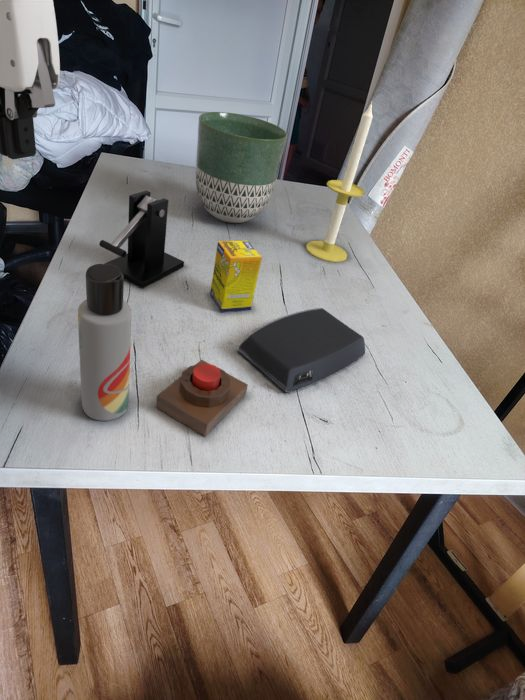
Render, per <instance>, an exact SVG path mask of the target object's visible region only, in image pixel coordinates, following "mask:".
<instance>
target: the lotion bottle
mask: <svg viewBox="0 0 525 700" xmlns="http://www.w3.org/2000/svg"><path fill="white" fill-rule="evenodd" d="M124 283H125V279H124V275H123V273H122V272H121V271H120V269H119V268H118V267H117V266H115V265H112V264H105V263H95V264H92V265H91V266H89V267H88V268H87V269H86V272H85V293H86V298H85V299H84V300H83V301H82V302H81V303H80V304H79V306H78V308H77V325H78V326H77V329H78V331H77V332H78V350H79V351H78V352H79V371H80V394H81V395H80V396H81V406H82V407H81V408H82V410H83V412H84V413H85V414H86V416H88V417H89V418H90V419H93V420H96V421H102V422H108V421H112V420H116V419H118V418H120V417H121V416H122V415H124V414H125V412H126V411H127V409H128V408H129V407H128V406H129V400H130V399H129V397H130V372H131V347H132V346H131V345H132V313H133V312H132V307H131V306H130V304H129V303H128V302H126V301H125V300H124V288H125V287H124V286H125V285H124Z"/></svg>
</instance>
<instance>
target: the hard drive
mask: <svg viewBox="0 0 525 700" xmlns="http://www.w3.org/2000/svg"><path fill="white" fill-rule="evenodd" d="M236 350H237V351H238V352H239V353H240V354H241V355H243V356H244V357H245V358H246V359H247V360H249V361H250V363H252V364H253V366H255V367H256V368H257V369H258V370H259V371H261V372H262V373H263V374H264V375H265V376H266V377H267V378H269V379H270V380H271V381H272V382H273V383H275V385H277V387H279V388H280V389H282V390H283V392H285V393H291V392H293V391H296V390H299V389H302V388H304V387H307V386H309V385H312V384H314V383H318V382H319V381H322V380H323V379H326V378H327V377H329V376H332V375H333V374H336V373H337V372H340V371H341V370H343V369H345V368H346V367H348V366H349V365H351V364H353V363H354V362H356V361H357V360H359V359H361V357H363V356H364V355H365V354H366V344H365V337H364V336H363V335H361V334H360V333H358V332H357V331H355V330H354V329H353V328H351V327H349V326H348V325H347V324H345V323H344V322H342V321H341V320H340V319H338V318H337V317H335V316H334V315H333V314H331V313H329V311H328V310H326V309H324V308H323V307H316V308H315V307H314V308H311V309H305V310H301V311H296V312H294V313H293V312H292V313H290V314H287V315H284V316H281V317H278V318H276V319H274V320H272V321H269V322H268V323H266V324H263V325H261V326H260V327H259V328H257V329H255V330H253V331H252V332H251V333H249V334H248V335H247V336H245V338H244V339H243V340H242V341H241V342H240V343H239V345H238V346H237V348H236Z"/></svg>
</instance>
